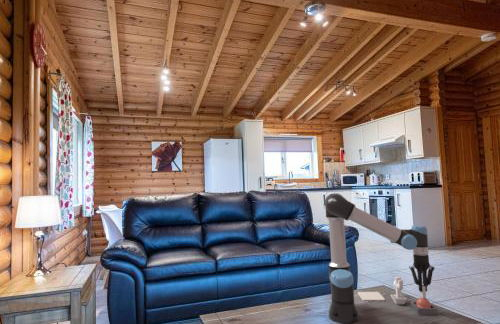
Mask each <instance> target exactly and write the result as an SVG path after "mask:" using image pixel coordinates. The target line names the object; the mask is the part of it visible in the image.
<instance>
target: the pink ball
mask: <svg viewBox="0 0 500 324" xmlns="http://www.w3.org/2000/svg"><path fill="white" fill-rule="evenodd" d="M415 302H416V306H417V307H419V308H431V304H432V303H431V302H430V301H429V299H428V298H427V297H426V298H422V297H421V296H420V297H419V298H417V300H416V301H415ZM430 303H431V304H430Z"/></svg>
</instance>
